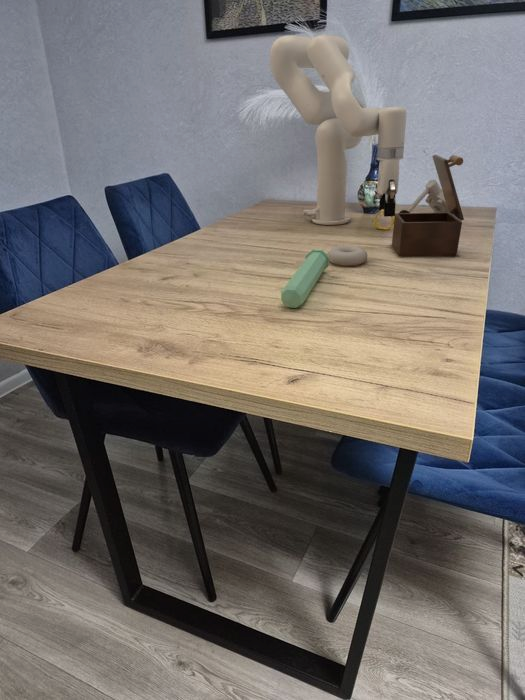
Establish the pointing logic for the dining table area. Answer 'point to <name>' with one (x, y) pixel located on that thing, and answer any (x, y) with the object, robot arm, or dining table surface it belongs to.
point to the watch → (376, 222)
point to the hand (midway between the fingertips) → (386, 213)
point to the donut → (347, 255)
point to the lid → (449, 183)
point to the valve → (431, 198)
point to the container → (304, 278)
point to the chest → (426, 234)
